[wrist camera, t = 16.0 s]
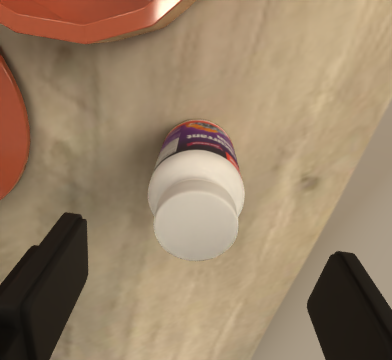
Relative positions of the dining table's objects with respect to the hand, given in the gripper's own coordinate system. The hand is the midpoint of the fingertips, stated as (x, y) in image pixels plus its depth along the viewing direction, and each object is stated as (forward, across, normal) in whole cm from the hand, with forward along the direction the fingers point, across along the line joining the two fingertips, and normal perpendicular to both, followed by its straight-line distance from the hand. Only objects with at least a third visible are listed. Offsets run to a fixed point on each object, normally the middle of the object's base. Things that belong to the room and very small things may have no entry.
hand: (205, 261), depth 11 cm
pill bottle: (+12, 0, 0) cm, 12 cm away
